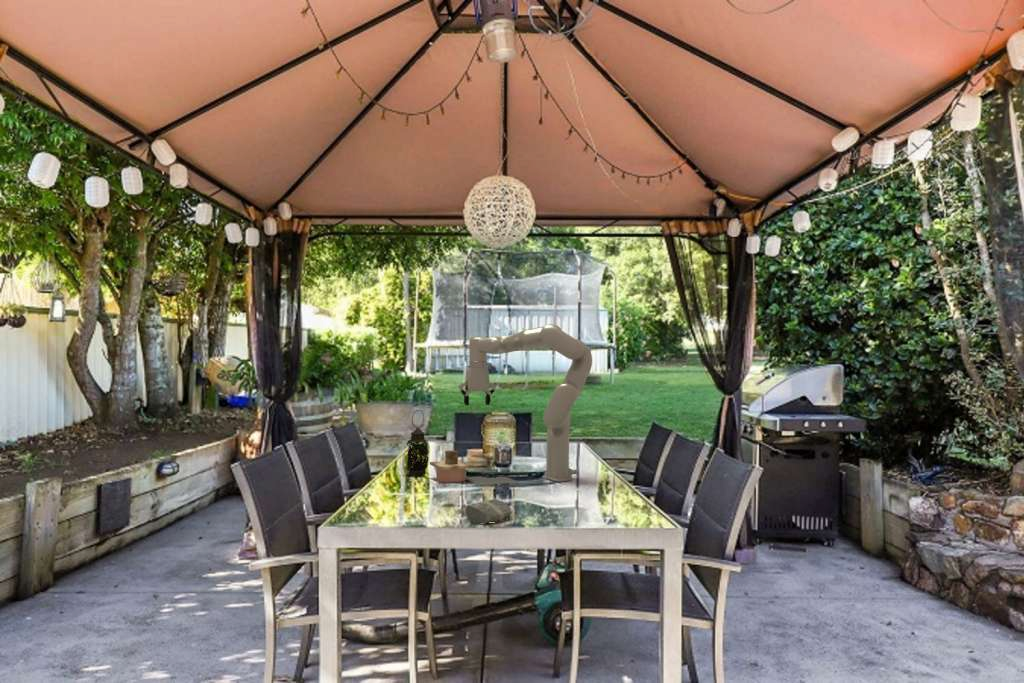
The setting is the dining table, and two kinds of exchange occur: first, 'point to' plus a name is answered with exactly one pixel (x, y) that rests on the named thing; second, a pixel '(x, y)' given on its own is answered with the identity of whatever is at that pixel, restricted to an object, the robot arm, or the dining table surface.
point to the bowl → (451, 475)
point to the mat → (490, 480)
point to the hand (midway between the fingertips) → (477, 404)
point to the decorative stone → (488, 511)
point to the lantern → (417, 453)
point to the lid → (451, 462)
